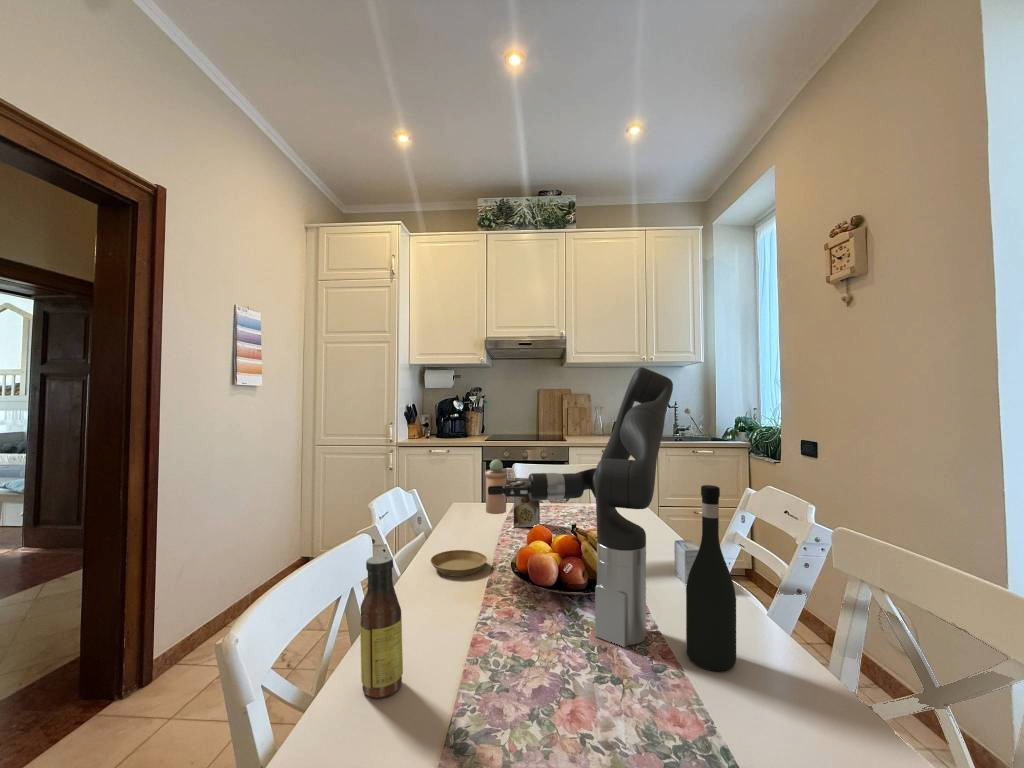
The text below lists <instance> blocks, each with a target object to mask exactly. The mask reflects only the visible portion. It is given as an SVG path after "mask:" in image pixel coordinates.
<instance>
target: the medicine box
mask: <svg viewBox="0 0 1024 768" xmlns="http://www.w3.org/2000/svg"><path fill="white" fill-rule="evenodd" d="M673 547H674V573H676V574H677V575H678V576H679V577H680V578H681V579H680V578H679V577H678V576H677V575H676V574H675V575H676V576H677V577H678V578H679V579H680V581H681V580H682V581H683V582H684V583H685V584H687V580H688V576H689V573H690V570H691V567H692V565H693V563H694V561H695V558H696V556H697V554H698V551H699V548H700V546H698V545H697V544H696V543H695V542H694V541H692V540H689V539H687V540H685V539H680V540H679V539H678V540H674V545H673ZM682 581H681V582H682ZM683 582H682V583H683ZM684 583H683V584H684ZM685 584H684V585H685Z"/></svg>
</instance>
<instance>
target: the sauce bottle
mask: <svg viewBox="0 0 1024 768" xmlns="http://www.w3.org/2000/svg"><path fill="white" fill-rule="evenodd" d="M365 562H366V563H365V564H366V565H365V568H366V571H367V591H366V594H365V596H364V597H363V600H362V602H361V604H360V623H359V624H360V625H359V626H360V629H359V630H360V633H359V634H360V670H361V673H360V677H361V679H360V680H361V684H362V685H361V686H362V692H363V694H364V695H366V696H368V697H370V698H374V699H380V698H381V699H382V698H386V697H389V696H391V695H394V694H396V692H398V690H399V689H400V688H401V686H402V684H403V681H402V680H403V674H404V673H403V672H404V670H403V669H404V666H403V665H404V663H403V662H404V661H403V660H404V658H403V630H402V629H403V627H402V626H403V624H402V623H403V622H402V621H403V620H402V618H403V617H402V608H401V606H400V603H399V599H398V597H397V593H396V590H395V586H394V581H393V567H394V559H393V557H392V556H391V555H388V554H387V555H386V554H383V555H382V554H380V555H379V554H378V555H375V556H371V557H369V558H367V560H366V561H365Z"/></svg>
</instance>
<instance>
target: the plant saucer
mask: <svg viewBox="0 0 1024 768" xmlns="http://www.w3.org/2000/svg"><path fill="white" fill-rule="evenodd" d="M487 560H488V558H487V556H486V555H485V554H483V553H481V552H478V551H474V550H469V549H468V550H467V549H456V550H455V549H454V550H453V549H452V550H446V551H442V552H439V553H436V554H434V555H433V556H432V557H431V558H430V563H431V565H432V566H433V567H434V568H435V569H436V571H438V572H439V573H440V574H442V575H444V576H448V577H465V576H471V575H474V574H476V573H478V572H479V571H480V570H481V569H482V568H483V567H484V566H485V565H486V562H487Z"/></svg>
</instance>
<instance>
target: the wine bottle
mask: <svg viewBox="0 0 1024 768" xmlns="http://www.w3.org/2000/svg"><path fill="white" fill-rule="evenodd" d="M720 494H721V490H720V486H717V485H713V484H712V485H710V484H703V485H701V486H700V495H701V515H702V517H701V519H702V520H701V521H702V522H701V524H702V525H701V528H702V529H701V530H702V531H701V540H700V545H699V551H698V554H697V556H696V558H695V561H694V563H693V565H692V567H691V570H690V573H689V576H688V580H687V586H686V585H685V586H686V587H685V646H686V647H685V650H686V655H687V657H688V658H689V659H690V660H691V662H693V663H694V664H695V665H697V666H698V665H699V666H698V667H700V666H701V667H700V668H703V669H705V668H706V670H709V669H710V670H709V671H713V670H717V671H716V672H725V671H724V670H726V671H729V670H730V668H731V669H733V668H734V666H735V664H736V662H737V596H736V590H735V585H734V581H733V579H732V575H731V573H730V571H729V568H728V565H727V563H726V560H725V558H724V554H723V552H722V548H721V544H720V536H719V535H720V534H719V533H720V532H719V530H720V529H719V528H720V527H719V522H720V521H719V520H720V519H719V518H720V517H719V515H720V514H719V513H720V512H719V510H720V509H719V508H720V504H719V503H720V496H721V495H720Z"/></svg>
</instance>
